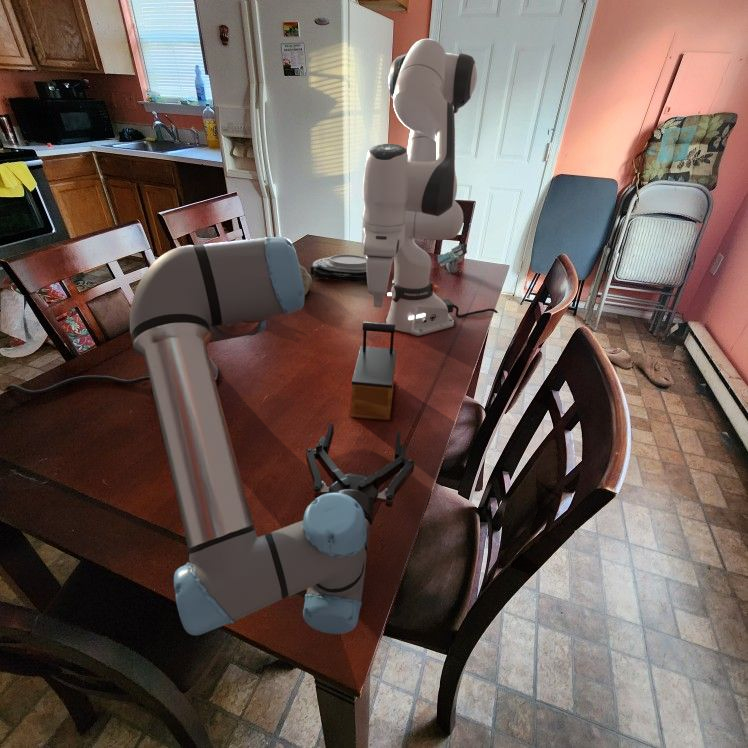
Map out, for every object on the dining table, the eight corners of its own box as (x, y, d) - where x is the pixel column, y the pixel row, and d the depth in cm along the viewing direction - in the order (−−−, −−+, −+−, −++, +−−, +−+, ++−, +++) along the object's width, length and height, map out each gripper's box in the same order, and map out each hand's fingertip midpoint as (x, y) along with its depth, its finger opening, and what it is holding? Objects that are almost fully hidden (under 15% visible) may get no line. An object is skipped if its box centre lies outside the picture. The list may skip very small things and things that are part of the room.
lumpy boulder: (322, 292, 157) (308, 294, 143) (295, 299, 160) (279, 302, 146) (313, 262, 155) (298, 261, 141) (287, 270, 158) (269, 270, 144)
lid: (360, 348, 104) (361, 317, 99) (396, 351, 103) (398, 320, 98) (351, 384, 91) (351, 350, 86) (392, 388, 91) (394, 354, 86)
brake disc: (371, 289, 156) (371, 277, 153) (298, 278, 162) (298, 266, 160) (392, 263, 182) (392, 252, 179) (328, 254, 188) (328, 243, 185)
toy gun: (464, 266, 163) (460, 241, 163) (440, 277, 181) (436, 255, 181) (472, 265, 165) (468, 240, 164) (447, 276, 183) (443, 254, 182)
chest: (359, 379, 109) (360, 349, 104) (393, 383, 108) (396, 352, 103) (351, 416, 97) (351, 384, 91) (389, 420, 96) (392, 388, 91)
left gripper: (274, 527, 69) (305, 438, 86) (423, 545, 67) (424, 451, 84) (269, 498, 64) (303, 411, 82) (429, 517, 63) (429, 424, 80)
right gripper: (373, 220, 94) (371, 278, 102) (362, 249, 77) (360, 315, 85) (401, 222, 93) (396, 280, 101) (395, 251, 77) (391, 318, 84)
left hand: (365, 431), depth 83 cm, fingers open, 13 cm apart
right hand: (380, 296), depth 93 cm, fingers open, 8 cm apart
